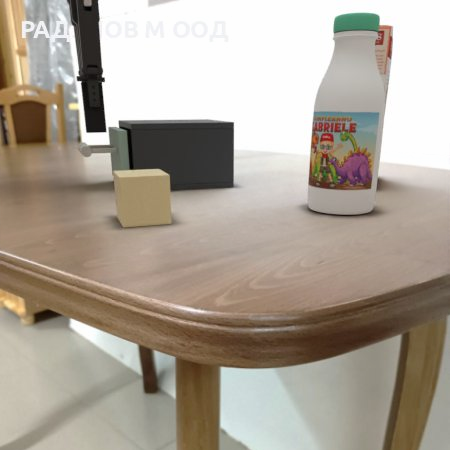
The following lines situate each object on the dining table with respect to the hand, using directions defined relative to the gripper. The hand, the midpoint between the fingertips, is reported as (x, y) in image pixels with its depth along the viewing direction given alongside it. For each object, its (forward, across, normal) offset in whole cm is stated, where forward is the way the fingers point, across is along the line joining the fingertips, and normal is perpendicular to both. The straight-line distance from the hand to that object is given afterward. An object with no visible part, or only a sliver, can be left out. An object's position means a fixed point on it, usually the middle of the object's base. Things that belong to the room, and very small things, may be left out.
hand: (96, 132), depth 69 cm
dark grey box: (+8, 0, -11) cm, 14 cm away
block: (+8, -24, -2) cm, 25 cm away
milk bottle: (+8, -25, -25) cm, 37 cm away
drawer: (+7, 0, -7) cm, 10 cm away
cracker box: (+8, -8, -38) cm, 40 cm away
